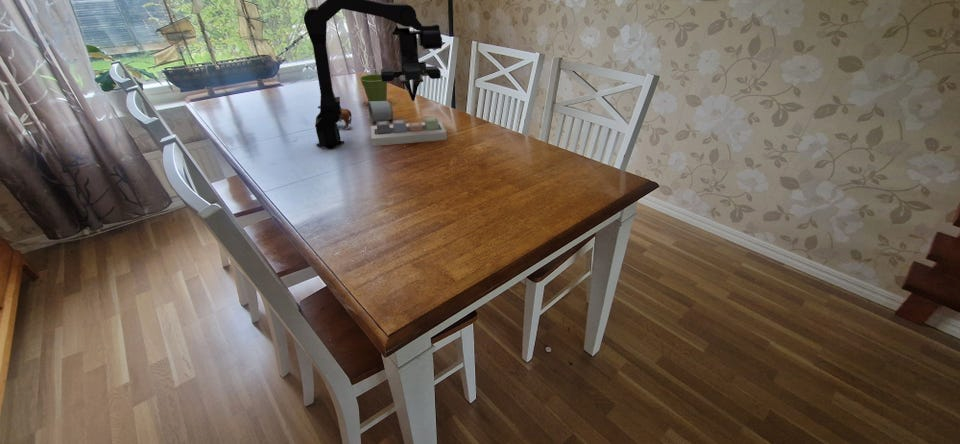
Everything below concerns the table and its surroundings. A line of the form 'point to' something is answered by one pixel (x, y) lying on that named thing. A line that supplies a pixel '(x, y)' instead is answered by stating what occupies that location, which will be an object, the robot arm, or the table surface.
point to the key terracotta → (415, 127)
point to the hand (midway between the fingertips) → (413, 100)
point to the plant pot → (374, 87)
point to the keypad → (408, 135)
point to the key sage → (431, 123)
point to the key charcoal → (383, 127)
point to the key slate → (399, 126)
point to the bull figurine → (345, 117)
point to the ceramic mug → (380, 111)
